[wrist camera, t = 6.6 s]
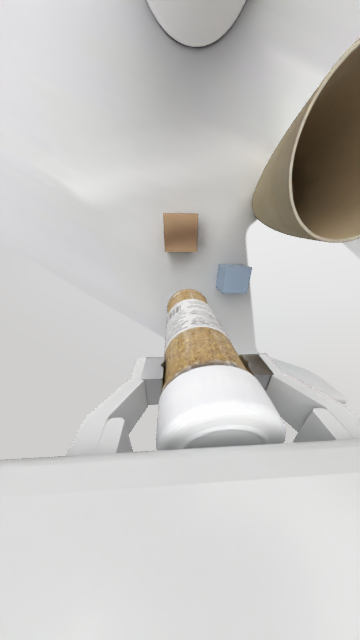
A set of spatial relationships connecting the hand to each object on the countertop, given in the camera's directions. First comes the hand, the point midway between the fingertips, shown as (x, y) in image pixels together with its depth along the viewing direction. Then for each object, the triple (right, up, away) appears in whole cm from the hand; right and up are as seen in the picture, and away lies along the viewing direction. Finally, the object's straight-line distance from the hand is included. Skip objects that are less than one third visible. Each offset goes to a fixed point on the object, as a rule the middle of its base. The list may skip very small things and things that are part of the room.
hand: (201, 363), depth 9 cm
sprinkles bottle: (0, +4, +8) cm, 9 cm away
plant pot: (+16, +25, +19) cm, 35 cm away
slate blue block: (+10, +12, +25) cm, 30 cm away
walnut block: (-1, +19, +21) cm, 29 cm away
